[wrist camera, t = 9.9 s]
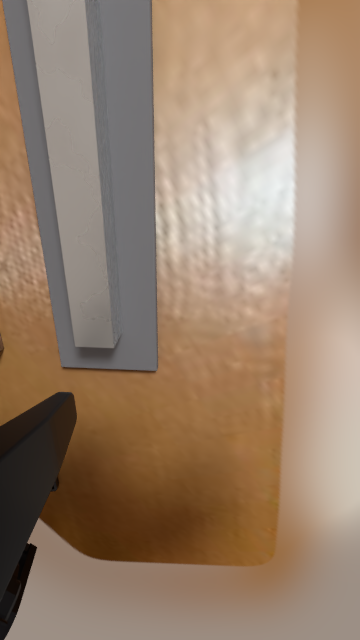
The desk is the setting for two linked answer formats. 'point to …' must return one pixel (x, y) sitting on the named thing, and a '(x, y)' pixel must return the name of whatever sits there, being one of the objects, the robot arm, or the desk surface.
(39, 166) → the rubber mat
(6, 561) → the robot arm
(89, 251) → the steel rail
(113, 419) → the desk surface
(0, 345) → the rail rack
